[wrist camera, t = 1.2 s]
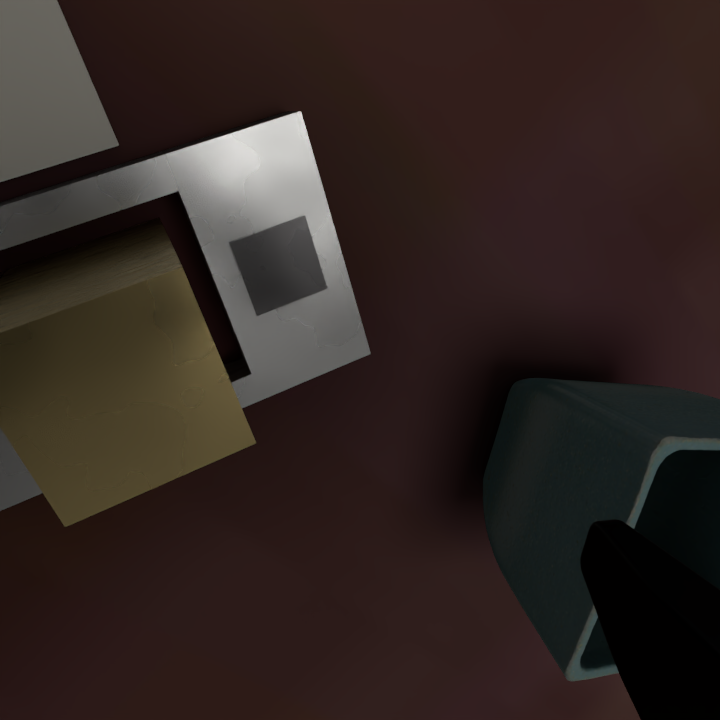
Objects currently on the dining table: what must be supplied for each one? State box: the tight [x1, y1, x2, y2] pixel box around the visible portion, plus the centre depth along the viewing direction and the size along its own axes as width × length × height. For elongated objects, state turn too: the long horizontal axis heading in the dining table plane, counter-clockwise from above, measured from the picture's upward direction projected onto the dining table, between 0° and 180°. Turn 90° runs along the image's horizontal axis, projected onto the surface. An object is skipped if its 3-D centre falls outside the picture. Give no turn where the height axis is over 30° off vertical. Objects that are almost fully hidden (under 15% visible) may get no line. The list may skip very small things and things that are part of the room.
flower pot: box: [483, 378, 720, 681], centre depth 23 cm, size 9×9×9 cm
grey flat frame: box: [0, 111, 371, 511], centre depth 18 cm, size 14×8×2 cm, turn 106°
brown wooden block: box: [0, 218, 256, 527], centre depth 16 cm, size 4×4×7 cm
